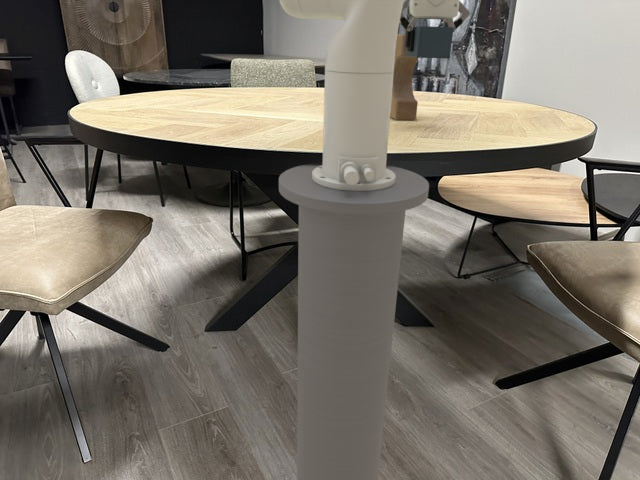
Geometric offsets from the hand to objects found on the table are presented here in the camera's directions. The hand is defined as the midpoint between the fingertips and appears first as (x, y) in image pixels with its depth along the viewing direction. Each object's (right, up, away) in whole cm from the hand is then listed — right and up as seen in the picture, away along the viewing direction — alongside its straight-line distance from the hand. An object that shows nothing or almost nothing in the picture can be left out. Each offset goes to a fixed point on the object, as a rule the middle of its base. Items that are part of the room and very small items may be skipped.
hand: (427, 51), depth 103 cm
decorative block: (-3, -9, +21) cm, 23 cm away
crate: (0, -1, +1) cm, 1 cm away
